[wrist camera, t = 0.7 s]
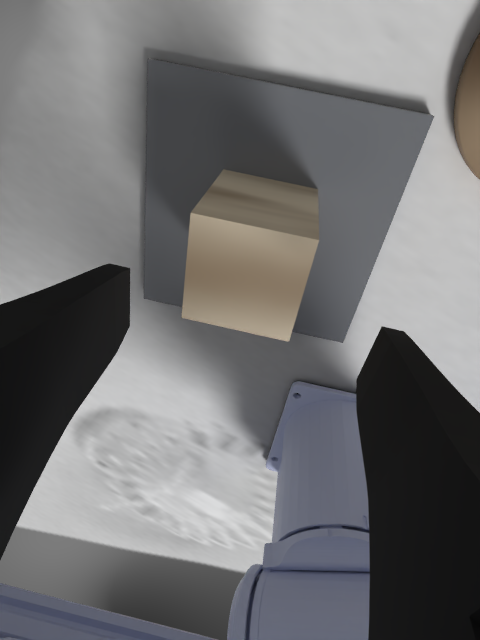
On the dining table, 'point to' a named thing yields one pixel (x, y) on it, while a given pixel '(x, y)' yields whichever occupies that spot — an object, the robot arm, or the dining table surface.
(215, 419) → the dining table surface
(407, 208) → the dining table surface
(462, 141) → the cork coaster
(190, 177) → the tile
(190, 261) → the maple block
